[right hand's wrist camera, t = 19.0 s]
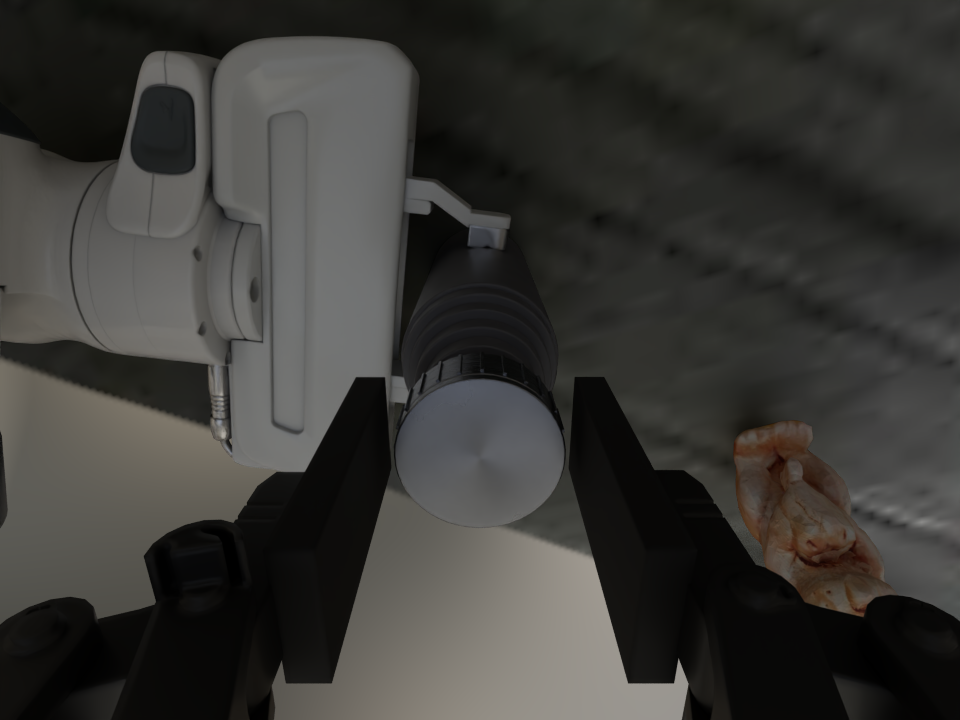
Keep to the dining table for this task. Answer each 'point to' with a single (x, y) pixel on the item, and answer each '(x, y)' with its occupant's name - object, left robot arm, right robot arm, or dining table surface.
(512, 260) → the bottle
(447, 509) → the cap
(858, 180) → the dining table surface
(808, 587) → the figurine
